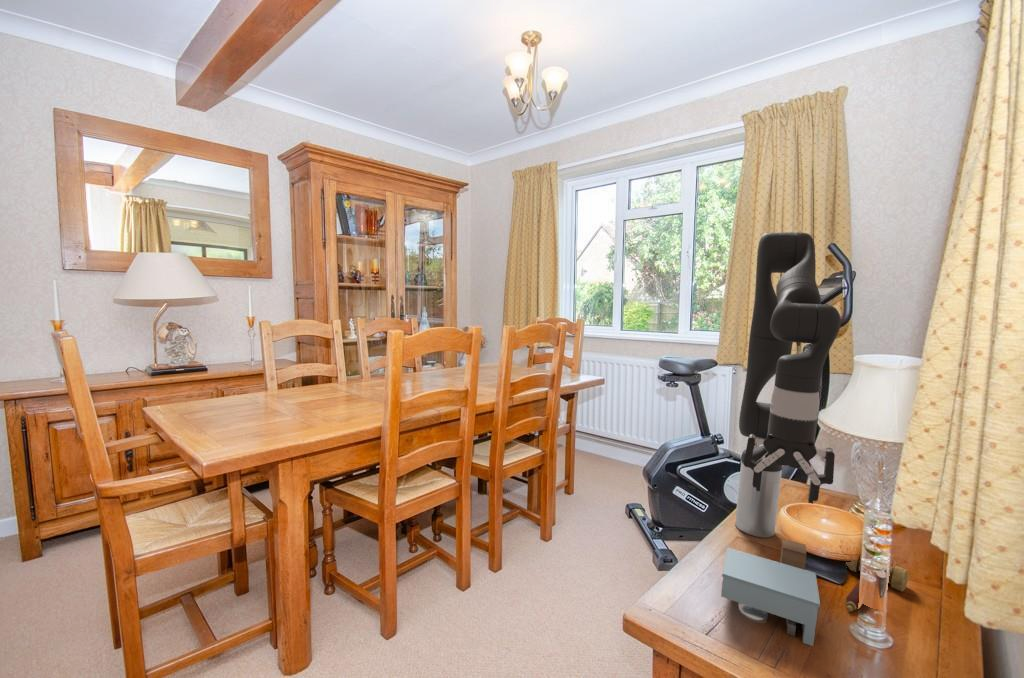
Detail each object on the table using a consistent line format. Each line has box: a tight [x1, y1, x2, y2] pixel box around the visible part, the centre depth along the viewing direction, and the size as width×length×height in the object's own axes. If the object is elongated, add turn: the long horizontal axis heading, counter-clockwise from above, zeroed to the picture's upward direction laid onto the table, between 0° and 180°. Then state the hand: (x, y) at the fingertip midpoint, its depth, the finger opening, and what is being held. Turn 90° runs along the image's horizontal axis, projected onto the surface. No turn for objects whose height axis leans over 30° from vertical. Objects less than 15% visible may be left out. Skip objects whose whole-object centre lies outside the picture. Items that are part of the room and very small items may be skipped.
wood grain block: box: [779, 538, 808, 637], centre depth 89 cm, size 16×4×10 cm, turn 150°
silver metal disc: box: [737, 602, 769, 624], centre depth 88 cm, size 5×5×1 cm
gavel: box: [845, 556, 909, 613], centre depth 96 cm, size 21×5×10 cm
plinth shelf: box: [720, 547, 821, 647], centre depth 88 cm, size 10×15×8 cm
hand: (783, 495), depth 87 cm, fingers open, 8 cm apart
